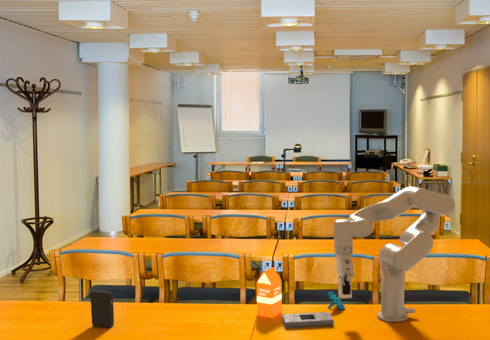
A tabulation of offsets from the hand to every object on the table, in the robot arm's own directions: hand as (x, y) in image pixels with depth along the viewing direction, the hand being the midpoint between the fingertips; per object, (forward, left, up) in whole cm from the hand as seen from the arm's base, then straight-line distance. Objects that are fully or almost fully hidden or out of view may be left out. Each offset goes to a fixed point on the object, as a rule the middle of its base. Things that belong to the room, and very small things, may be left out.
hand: (345, 291), depth 250 cm
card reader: (+101, -11, -13) cm, 102 cm away
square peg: (0, 0, -2) cm, 2 cm away
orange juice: (+30, -16, -13) cm, 36 cm away
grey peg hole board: (+16, -2, -13) cm, 20 cm away
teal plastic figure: (-1, -18, -13) cm, 23 cm away
